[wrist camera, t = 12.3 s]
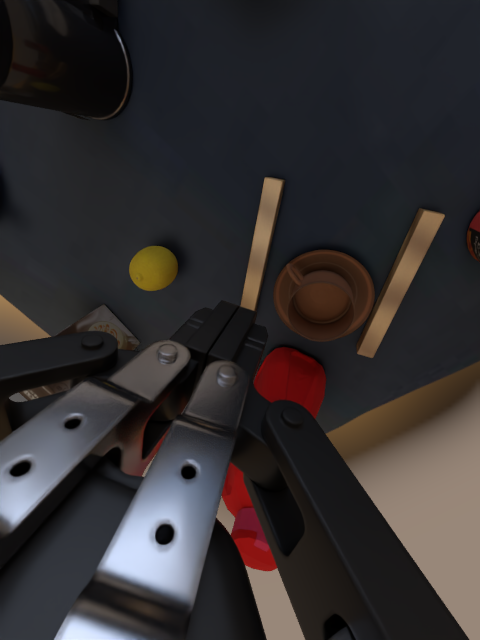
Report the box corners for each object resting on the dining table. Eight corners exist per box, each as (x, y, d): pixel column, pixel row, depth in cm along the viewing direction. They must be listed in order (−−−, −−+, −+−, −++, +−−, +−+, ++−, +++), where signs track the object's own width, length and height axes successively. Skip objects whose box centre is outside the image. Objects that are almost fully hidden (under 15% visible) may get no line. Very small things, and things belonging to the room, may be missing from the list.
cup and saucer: (260, 304, 41) (249, 324, 36) (307, 227, 34) (302, 238, 29) (334, 347, 41) (333, 375, 36) (395, 278, 34) (406, 299, 29)
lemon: (171, 232, 40) (137, 246, 33) (194, 267, 41) (166, 288, 34) (145, 252, 42) (108, 268, 35) (167, 284, 44) (136, 306, 37)
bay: (268, 176, 33) (264, 177, 31) (439, 212, 30) (445, 215, 28) (241, 312, 42) (238, 318, 41) (371, 349, 39) (372, 358, 38)
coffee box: (86, 320, 52) (-2, 376, 38) (104, 302, 49) (15, 356, 35) (123, 358, 54) (51, 424, 40) (142, 343, 51) (72, 409, 37)
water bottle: (340, 356, 41) (347, 561, 20) (304, 404, 47) (279, 603, 26) (281, 327, 42) (226, 497, 20) (252, 378, 47) (186, 552, 26)
